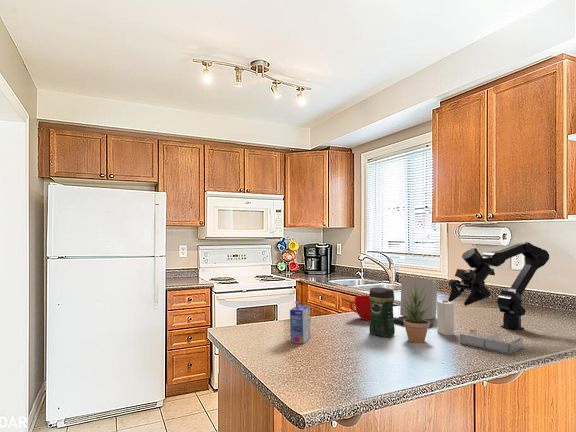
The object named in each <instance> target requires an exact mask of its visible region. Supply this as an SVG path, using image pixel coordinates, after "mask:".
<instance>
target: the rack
mask: <svg viewBox="0 0 576 432" xmlns="http://www.w3.org/2000/svg"><path fill="white" fill-rule="evenodd" d="M460 343H461V345H466V346H469V347H470V346H471V347H474V346H475V348H478V347H479V348H480V349H483V350H488V351H494V352H499V353H502V354H508V355H513V354H514V353H515V352H517V351H520V349H523V348H524V338H522V337H519V338H517V339H515V340H513V341H511V342H510V341H505V340H500V333H495V334H491V335H490V336H488V337H484V336H479V335H478V329H477V328H471V329H470V331H467V332H465V333H464V332H461V333H459V344H460Z"/></svg>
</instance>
